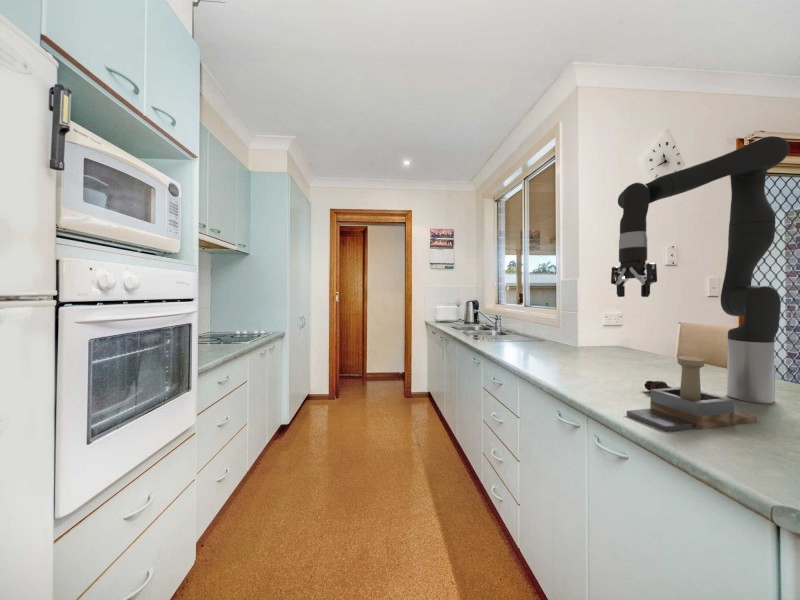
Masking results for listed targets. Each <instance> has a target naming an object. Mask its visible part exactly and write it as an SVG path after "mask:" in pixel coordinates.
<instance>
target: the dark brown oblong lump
mask: <svg viewBox="0 0 800 600" xmlns="http://www.w3.org/2000/svg"><path fill="white" fill-rule="evenodd" d="M644 388H645V389H646V390H647V391H649V392H651V389H663V388H673V387H672V386H669V385H668V384H667V383H666V382H665V381H662V380H661V381H660V380H655V381H654V380H647V381H645V383H644Z"/></svg>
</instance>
